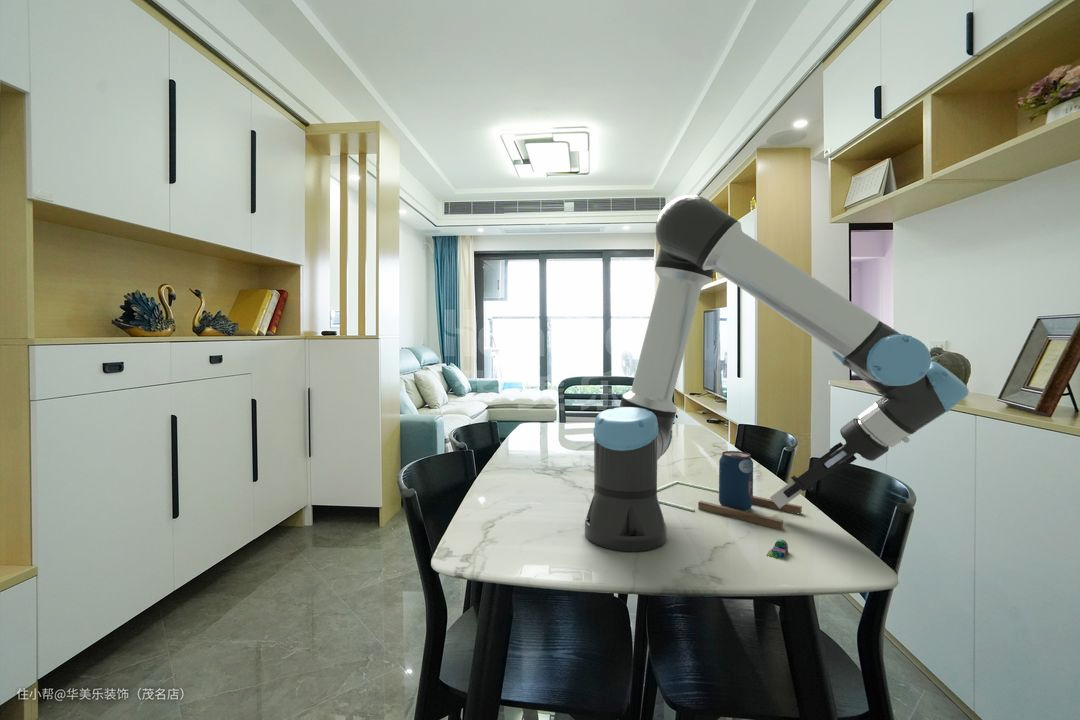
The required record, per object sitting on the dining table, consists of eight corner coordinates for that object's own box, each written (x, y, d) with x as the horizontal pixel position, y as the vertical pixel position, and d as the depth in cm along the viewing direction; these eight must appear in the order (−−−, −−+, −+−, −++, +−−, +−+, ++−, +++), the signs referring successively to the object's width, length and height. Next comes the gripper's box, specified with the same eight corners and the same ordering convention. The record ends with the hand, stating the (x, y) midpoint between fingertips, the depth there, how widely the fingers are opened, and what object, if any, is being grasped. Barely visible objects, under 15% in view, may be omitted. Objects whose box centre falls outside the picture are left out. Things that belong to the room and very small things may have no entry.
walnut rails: (780, 529, 93) (781, 522, 93) (698, 508, 105) (698, 502, 105) (801, 513, 102) (801, 506, 102) (723, 495, 114) (723, 489, 114)
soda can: (758, 513, 102) (758, 457, 102) (725, 513, 102) (725, 457, 102) (745, 502, 109) (745, 450, 109) (714, 502, 109) (714, 450, 109)
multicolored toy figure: (770, 550, 85) (770, 536, 85) (787, 554, 83) (788, 540, 83) (764, 558, 81) (764, 544, 81) (782, 563, 80) (783, 548, 80)
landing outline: (693, 511, 103) (693, 509, 103) (638, 497, 113) (638, 495, 113) (727, 493, 116) (728, 491, 116) (676, 481, 125) (676, 480, 125)
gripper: (883, 455, 81) (778, 526, 93) (897, 443, 90) (799, 510, 102) (848, 420, 85) (750, 493, 97) (864, 413, 94) (773, 480, 106)
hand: (775, 502), depth 100 cm, fingers closed
